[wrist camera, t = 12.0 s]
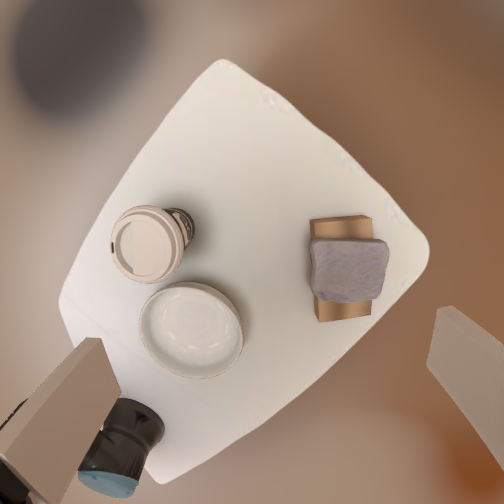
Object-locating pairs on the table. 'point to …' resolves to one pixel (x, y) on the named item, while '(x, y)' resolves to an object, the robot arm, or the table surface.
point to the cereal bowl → (191, 330)
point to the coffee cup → (150, 242)
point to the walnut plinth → (341, 229)
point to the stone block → (347, 269)
